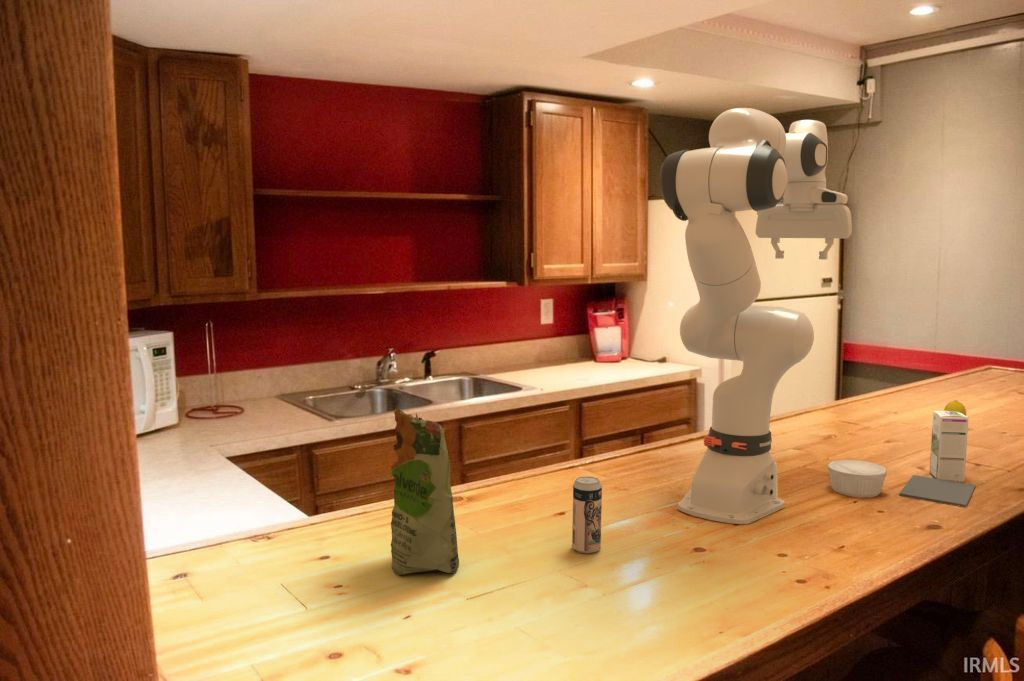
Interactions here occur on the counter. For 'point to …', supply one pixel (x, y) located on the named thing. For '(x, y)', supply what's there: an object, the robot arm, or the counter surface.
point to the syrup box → (949, 445)
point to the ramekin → (856, 478)
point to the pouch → (422, 499)
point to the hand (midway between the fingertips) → (800, 259)
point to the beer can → (587, 515)
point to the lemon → (955, 407)
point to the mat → (938, 490)
